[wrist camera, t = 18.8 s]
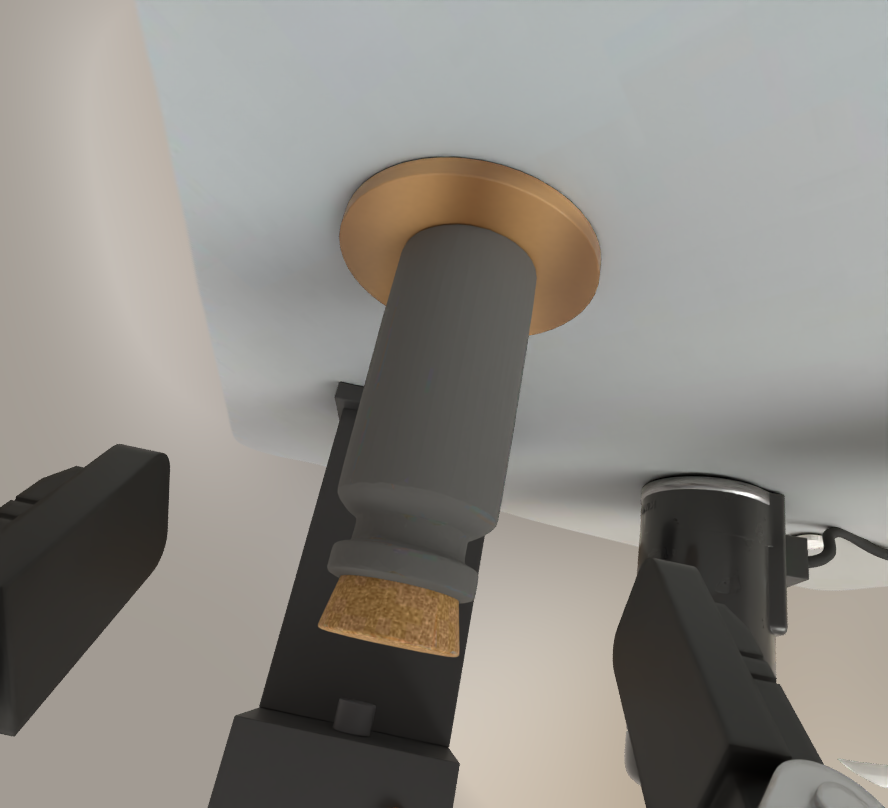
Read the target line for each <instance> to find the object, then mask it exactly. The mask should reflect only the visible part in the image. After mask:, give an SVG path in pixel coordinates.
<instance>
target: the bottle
mask: <svg viewBox="0 0 888 808" xmlns="http://www.w3.org/2000/svg"><path fill="white" fill-rule="evenodd" d="M536 280H537V276H536V269H535V266H534V264H533V261H532V260H531V258H530V257H529V256H528V254H527V253H526V252H525V251H524V250H523V249H522V248H521V247H519V246H518V245H517V244H516V243H515V242H513V241H511V240H510V239H508V238H507V237H505V236H503V235H500V234H498V233H496V232H493V231H491V230H488V229H484V228H480V227H475V226H471V225H462V224H450V225H440V226H435V227H430V228H428V229H425V230H423V231H420V232H418V233H417V234H415V235H414V236H412V237H411V238H410V239H409V240H408V241H407V243H406V245H405V246H404V248H403V250H402V252H401V256H400V259H399V263H398V266H397V269H396V273H395V276H394V280H393V283H392V287H391V290H390V294H389V297H388V301H387V304H386V308H385V311H384V315H383V318H382V322H381V326H380V330H379V333H378V337H377V341H376V345H375V348H374V352H373V356H372V359H371V363H370V367H369V371H368V374H367V378H366V382H365V386H364V389H363V393H362V397H361V401H360V404H359V408H358V412H357V415H356V419H355V423H354V427H353V430H352V434H351V438H350V442H349V445H348V449H347V453H346V457H345V460H344V464H343V468H342V472H341V476H340V481H339V485H338V495H339V498H340V500H341V501H342V503H343V504H344V506H345V507H346V508H347V510H348V511H349V512H350V513H351V514H353V515H354V516H355V517H356V524H355V528H354V531H353V535H352V538H351V540H342V541H338V542H336V543H335V544H334V545H333V547H332V550H331V554H330V557H329V561H328V565H327V568H328V571H329V572H330V573H332V574H333V575H335V576H337V577H338V578H339V580H338V582H337V585H336V587H335V589H334V591H333V593H332V595H331V597H330V599H329V602H328V604H327V606H326V608H325V610H324V612H323V614H322V616H321V619H320V621H319V623H318V627H319V628H321V629H323V630H326V631H329V632H333V633H337V634H341V635H345V636H348V637H353V638H357V639H362V640H366V641H370V642H375V643H380V644H384V645H389V646H394V647H399V648H404V649H408V650H413V651H418V652H423V653H429V654H435V655H441V656H447V657H457V656H459V604H461V603H468V602H471V601H473V600H474V598H475V594H476V589H477V583H478V574H477V572H476V571H475V570H474V569H473V568H471V567H469V566H467V565H466V564H465V554H466V549H467V544H468V542H470V541H473V540H476V539H478V538H481V537H483V536H485V535H486V534H488V533H489V532H491V531H492V530H493V529H494V528H495V527H496V525H497V522H498V518H499V512H500V507H501V502H502V496H503V490H504V484H505V478H506V472H507V467H508V461H509V455H510V449H511V443H512V437H513V431H514V425H515V419H516V412H517V406H518V400H519V393H520V387H521V381H522V375H523V368H524V362H525V356H526V349H527V343H528V337H529V330H530V324H531V318H532V311H533V304H534V296H535V289H536Z"/></svg>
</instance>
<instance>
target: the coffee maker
mask: <svg viewBox="0 0 888 808" xmlns="http://www.w3.org/2000/svg"><path fill="white" fill-rule="evenodd" d="M363 389H364V387H361V386H356V385H351V384H347V383H342V382H339V384H338V387H337V391H336V394H335V400H336V405H337V410H338V415H339V420H340V421H339V425H338V428H337V432H336V436H335V439H334V443H333V446H332V450H331V453H330V457H329V460H328V464H327V467H326V471H325V475H324V478H323V482H322V486H321V489H320V492H319V496H318V499H317V503H316V507H315V510H314V514H313V517H312V521H311V524H310V528H309V532H308V535H307V538H306V542H305V546H304V549H303V553H302V556H301V560H300V564H299V567H298V570H297V574H296V578H295V581H294V585H293V588H292V592H291V595H290V599H289V603H288V606H287V610H286V613H285V617H284V621H283V624H282V627H281V631H280V634H279V638H278V641H277V645H276V649H275V652H274V656H273V659H272V663H271V667H270V671H269V674H268V677H267V681H266V684H265V688H264V692H263V695H262V698H261V702H260V705H259V706H260V708H257V709H254V710H251V711H248V712H245V713H242V714H239V715H236V716H235V717H234V720H233V723H232V727H231V730H230V734H229V737H228V740H227V744H226V747H225V751H224V754H223V758H222V761H221V764H220V768H219V771H218V774H217V778H216V781H215V785H214V788H213V791H212V795H211V798H210V802H209V805H208V808H453V803H454V797H455V790H456V784H457V778H458V771H459V766H460V763H459V762H458V761H457V759H456V758H455V756H454V755H453V754H452V752H451V751H450V749H449V748H448V747H449V744H450V738H451V732H452V726H453V720H454V714H455V709H456V703H457V697H458V691H459V685H460V679H461V673H462V667H463V661H464V655H465V649H466V643H467V637H468V632H469V625H470V620H471V613H472V607H473V602H474V600H473V601H471V602H468V603H461V604H459V656H457V657H447V656H441V655H435V654H429V653H423V652H418V651H413V650H408V649H404V648H399V647H394V646H389V645H384V644H380V643H375V642H370V641H366V640H362V639H357V638H353V637H348V636H345V635H341V634H337V633H333V632H329V631H326V630H323V629H321V628H319V627H318V623H319V621H320V619H321V616H322V614H323V612H324V610H325V608H326V606H327V604H328V602H329V599H330V597H331V595H332V593H333V591H334V589H335V587H336V585H337V582H338V580H339V578H338V577H337V576H335V575H333V574H332V573H330V572H329V571H328V568H327V565H328V561H329V557H330V554H331V550H332V547H333V545H334V544H335V543H336V542H338V541H342V540H351V538H352V535H353V531H354V528H355V524H356V517H355V516H354V515H353V514H351V513H350V512H349V511H348V510H347V508H346V507H345V506H344V504H343V503H342V501H341V500H340V498H339V495H338V485H339V481H340V476H341V472H342V468H343V464H344V460H345V457H346V453H347V449H348V445H349V442H350V438H351V434H352V430H353V427H354V423H355V419H356V415H357V412H358V408H359V404H360V401H361V397H362V393H363ZM484 537H485V536H483V537H481V538H478V539H476V540H473V541H470V542H468V544H467V549H466V554H465V564H466V565H467V566H469V567H471V568H473V569H474V570H475V571H476V572H477V574H478V572H479V566H480V560H481V554H482V548H483V542H484Z"/></svg>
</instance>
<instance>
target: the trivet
mask: <svg viewBox="0 0 888 808" xmlns="http://www.w3.org/2000/svg"><path fill="white" fill-rule="evenodd" d="M450 224H462V225H471V226H475V227H480V228H484V229H488V230H491V231H493V232H496V233H498V234H500V235H503V236H505V237H507V238H508V239H510V240H511V241H513V242H515V243H516V244H517V245H518V246H519V247H521V248H522V249H523V250H524V251H525V252H526V253H527V254H528V256H529V257H530V258H531V260H532V261H533V264H534V266H535V269H536V276H537V280H536V289H535V296H534V304H533V311H532V318H531V324H530V330H529V336H530V335H534V334H539V333H542V332H546V331H549V330H552V329H554V328H556V327H559V326H561V325H563V324H565V323H567V322H568V321H570V320H572V319H573V318H575V317H576V316H577V315H578V314H580V313H581V312H582V311H583V310H584V309H585V308H586V306H587V305H588V304H589V303H590V301H591V300H592V298H593V296H594V295H595V293H596V290H597V287H598V284H599V275H600V267H601V252H600V246H599V243H598V240H597V236H596V234H595V232H594V230H593V229H592V227H591V225H590V223H589V222H588V220H587V219H586V218H585V216H584V215H583V214H582V212H581V211H580V210H579V209H578V208H577V207H576V206H575V205H574V204H573V203H572V202H571V201H570V200H569V199H567V198H566V197H565V196H563V195H562V194H561V193H559V192H558V191H557V190H555V189H554V188H552V187H551V186H549V185H547V184H545V183H544V182H542V181H540V180H539V179H536V178H534V177H532V176H530V175H528V174H525V173H523V172H521V171H518V170H515V169H512V168H509V167H506V166H503V165H500V164H495V163H491V162H487V161H482V160H475V159H467V158H453V157H438V158H426V159H419V160H414V161H409V162H404V163H401V164H398V165H395V166H392V167H389V168H387V169H385V170H383V171H381V172H379V173H377V174H375V175H374V176H373V177H371V178H370V179H368V180H367V181H366V182H364V183H363V184H362V185H361V186H360V187H359V188H358V189H357V191H356V192H355V193H354V194H353V196H352V198H351V199H350V201H349V202H348V205H347V208H346V211H345V213H344V216H343V220H342V223H341V226H340V234H339V239H340V248H341V252H342V255H343V258H344V261H345V263H346V265H347V267H348V269H349V270H350V272H351V273H352V275H353V276H354V278H355V279H356V280H357V281H358V282H359V284H360V285H361V286H362V287H363V288H364V289H365V290H366V291H367V292H368V293H370V294H371V295H372V296H373V297H374V298H376V299H377V300H378V301H379V302H381V303H382V304H384V305H385V306H386V304H387V301H388V297H389V294H390V290H391V287H392V283H393V280H394V276H395V273H396V269H397V266H398V263H399V259H400V256H401V252H402V250H403V248H404V246H405V245H406V243H407V241H408V240H409V239H410V238H411V237H412V236H414V235H415V234H417V233H418V232H420V231H423V230H425V229H428V228H430V227H435V226H440V225H450Z"/></svg>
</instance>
